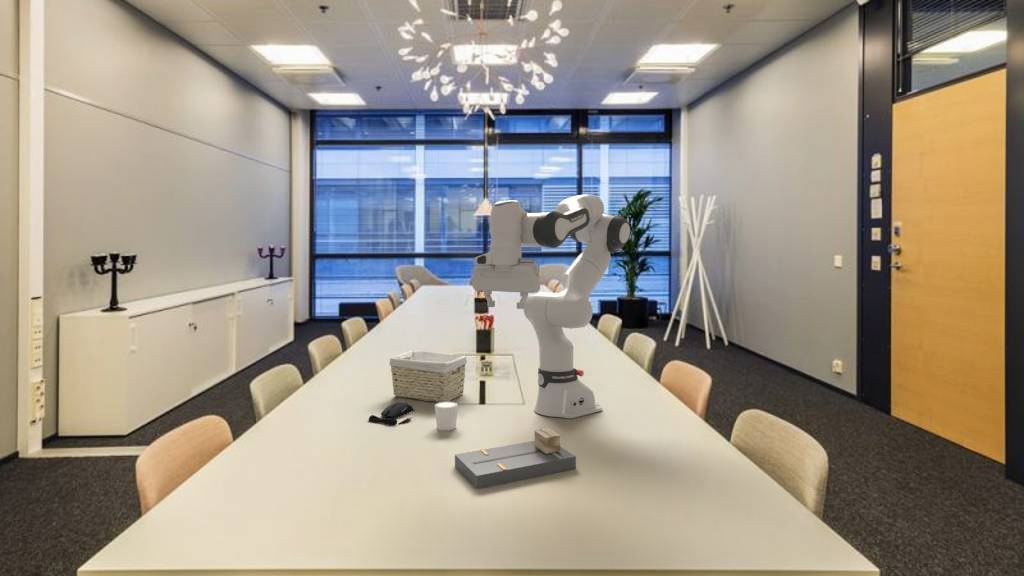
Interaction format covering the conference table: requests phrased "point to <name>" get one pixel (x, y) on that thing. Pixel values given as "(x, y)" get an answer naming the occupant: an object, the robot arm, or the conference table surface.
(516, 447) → the fader console
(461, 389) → the storage basket
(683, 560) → the conference table surface
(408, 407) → the computer mouse
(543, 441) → the fader tab
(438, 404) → the white cup
